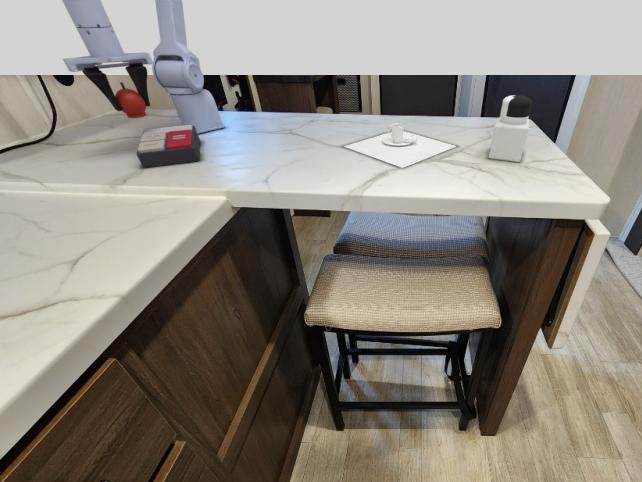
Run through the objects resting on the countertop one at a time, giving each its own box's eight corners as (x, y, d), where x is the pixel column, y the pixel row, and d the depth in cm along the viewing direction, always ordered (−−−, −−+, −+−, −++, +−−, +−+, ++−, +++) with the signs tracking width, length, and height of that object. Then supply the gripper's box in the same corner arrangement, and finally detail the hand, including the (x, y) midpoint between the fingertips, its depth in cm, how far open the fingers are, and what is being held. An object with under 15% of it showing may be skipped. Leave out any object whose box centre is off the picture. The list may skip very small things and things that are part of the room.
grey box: (133, 150, 67) (141, 126, 76) (144, 171, 70) (150, 145, 80) (192, 143, 70) (193, 121, 80) (201, 163, 73) (200, 140, 83)
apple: (145, 111, 75) (129, 79, 71) (154, 115, 73) (139, 82, 69) (119, 116, 72) (102, 82, 68) (128, 120, 70) (111, 85, 66)
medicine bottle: (522, 152, 79) (536, 94, 71) (520, 162, 74) (535, 102, 66) (492, 148, 81) (503, 92, 73) (488, 158, 76) (499, 98, 68)
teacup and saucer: (422, 142, 83) (423, 125, 81) (400, 150, 79) (401, 132, 76) (397, 135, 88) (397, 118, 85) (375, 142, 83) (375, 124, 81)
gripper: (53, 29, 56) (101, 117, 66) (144, 26, 65) (175, 104, 74) (42, 27, 60) (89, 111, 69) (130, 24, 68) (161, 100, 77)
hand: (133, 107), depth 72 cm, fingers closed on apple, 5 cm apart
